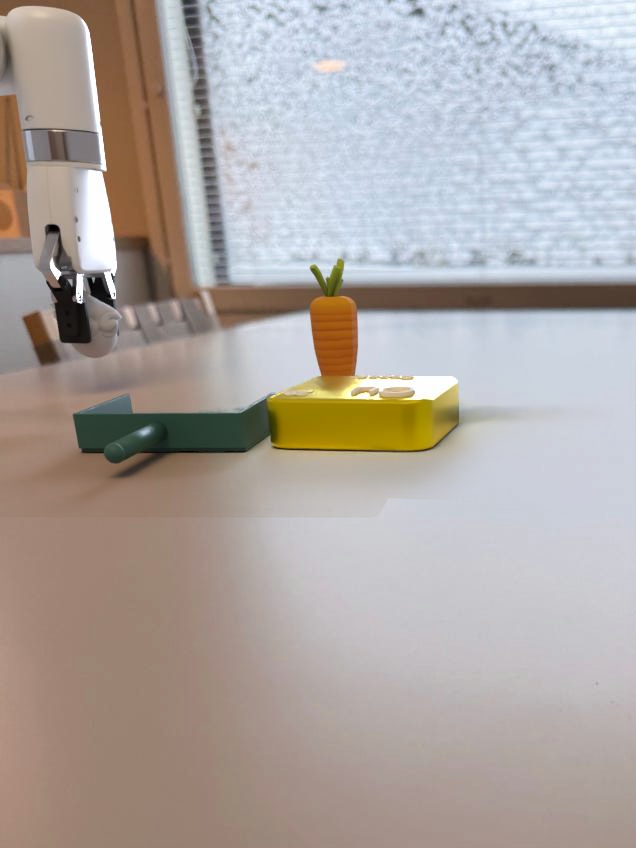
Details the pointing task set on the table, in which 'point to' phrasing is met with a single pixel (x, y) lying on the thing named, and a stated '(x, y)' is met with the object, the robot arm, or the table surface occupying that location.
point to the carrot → (334, 326)
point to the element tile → (364, 413)
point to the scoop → (167, 429)
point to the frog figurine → (98, 327)
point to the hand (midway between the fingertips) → (90, 338)
